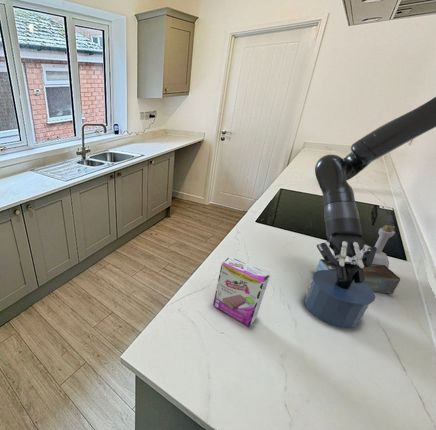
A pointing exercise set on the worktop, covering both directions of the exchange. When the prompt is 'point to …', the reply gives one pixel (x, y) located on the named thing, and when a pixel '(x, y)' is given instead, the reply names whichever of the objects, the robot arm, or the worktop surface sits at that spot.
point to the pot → (333, 309)
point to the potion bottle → (382, 245)
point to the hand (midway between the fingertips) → (351, 281)
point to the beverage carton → (372, 276)
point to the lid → (344, 286)
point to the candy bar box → (240, 290)
